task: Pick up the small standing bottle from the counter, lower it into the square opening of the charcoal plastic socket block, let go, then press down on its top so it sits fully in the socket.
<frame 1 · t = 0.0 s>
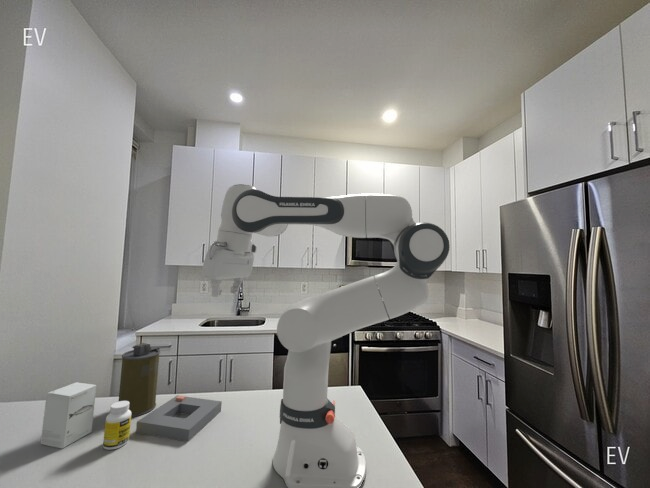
hand: (225, 294, 76), 39 cm above the counter, tool pointing down, fingers open, 8 cm apart
canister: (137, 409, 89), on the counter
socket block: (181, 421, 83), on the counter
supplement box: (67, 439, 73), on the counter
supplement bottle: (116, 444, 72), on the counter
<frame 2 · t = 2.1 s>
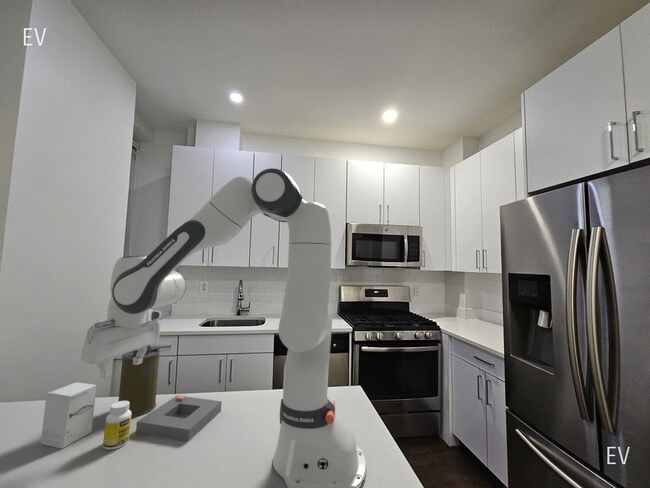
hand: (122, 370, 73), 18 cm above the counter, tool pointing down, fingers open, 8 cm apart
nothing on the counter moved.
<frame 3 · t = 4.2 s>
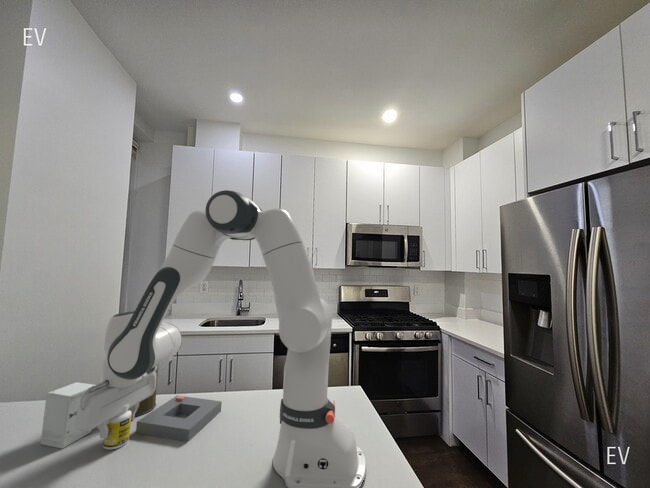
hand: (117, 429, 72), 4 cm above the counter, tool pointing down, fingers closed on supplement bottle, 5 cm apart
supplement bottle: (116, 444, 72), on the counter, touching gripper
everything else where it was.
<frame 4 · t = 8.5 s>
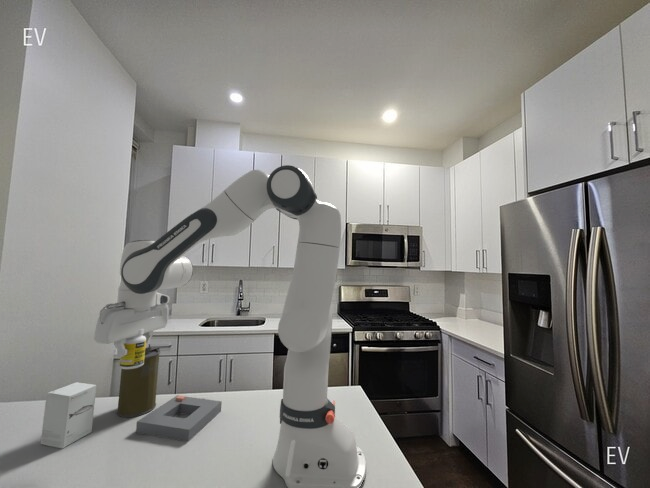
hand: (133, 352, 75), 23 cm above the counter, tool pointing down, fingers closed on supplement bottle, 5 cm apart
supplement bottle: (132, 366, 75), point 19 cm above the counter, touching gripper
everything else where it was.
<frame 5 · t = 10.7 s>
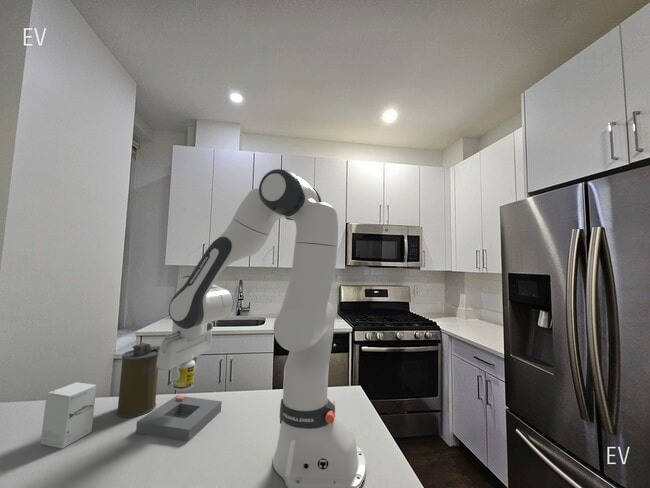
hand: (184, 375, 84), 13 cm above the counter, tool pointing down, fingers closed on supplement bottle, 5 cm apart
supplement bottle: (183, 388, 84), point 9 cm above the counter, touching gripper
everything else where it was.
when the fingers open (5 cm above the counter, at t = 12.6 s): supplement bottle drops 1 cm, resting in socket block.
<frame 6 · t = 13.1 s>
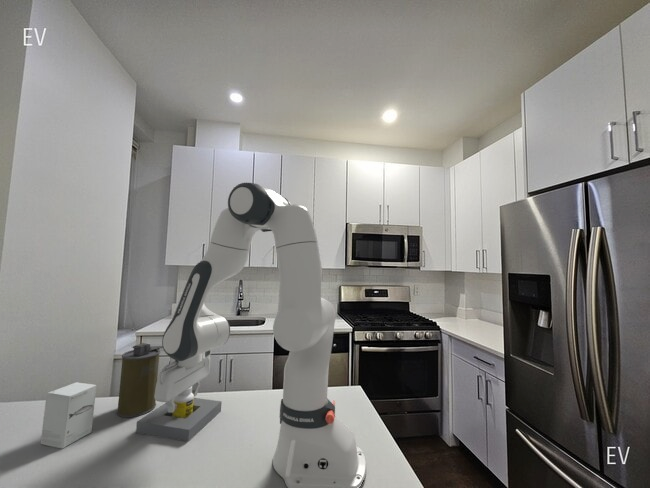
hand: (183, 403, 84), 5 cm above the counter, tool pointing down, fingers open, 8 cm apart
supplement bottle: (181, 422, 83), resting in socket block
everything else where it was.
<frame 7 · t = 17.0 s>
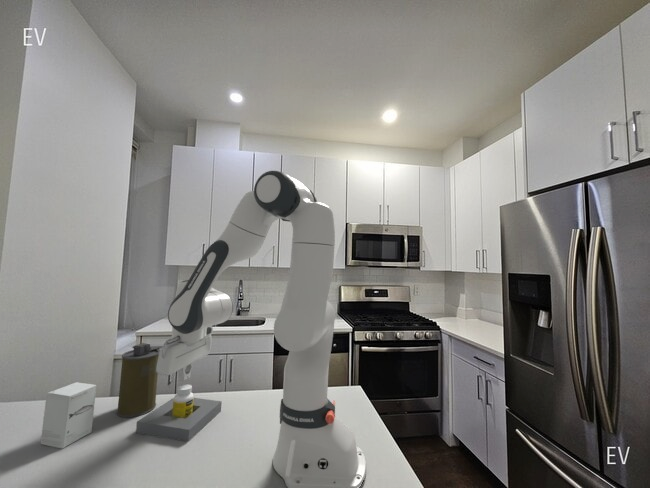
hand: (184, 379, 84), 12 cm above the counter, tool pointing down, fingers closed
nothing on the counter moved.
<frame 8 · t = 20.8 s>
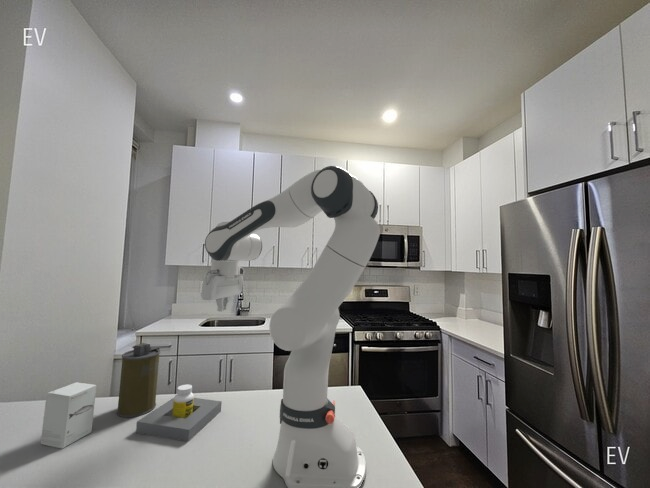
hand: (222, 310, 94), 31 cm above the counter, tool pointing down, fingers closed
nothing on the counter moved.
at the end: supplement bottle 0.1 cm off-centre on the socket block, point 0.0 cm above the socket block's base; supplement bottle tilted 0°; the gripper is holding nothing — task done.
